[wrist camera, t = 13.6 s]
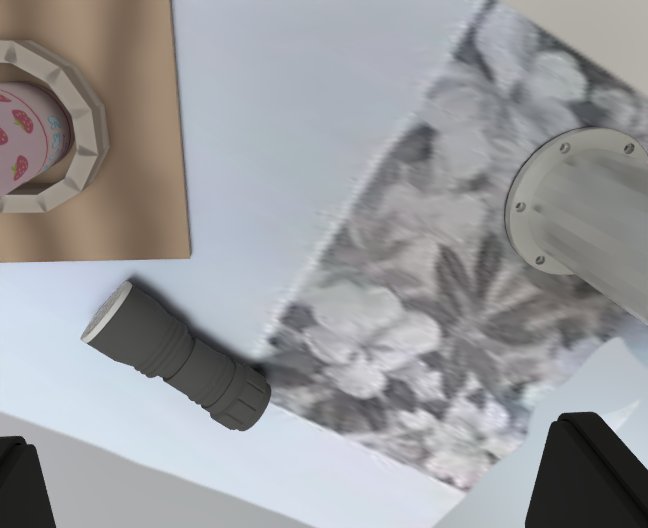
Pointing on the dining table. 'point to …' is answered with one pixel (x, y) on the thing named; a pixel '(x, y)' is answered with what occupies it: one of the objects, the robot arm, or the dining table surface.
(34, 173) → the beverage can
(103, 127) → the socket board
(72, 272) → the dining table surface
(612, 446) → the robot arm
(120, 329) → the flashlight
